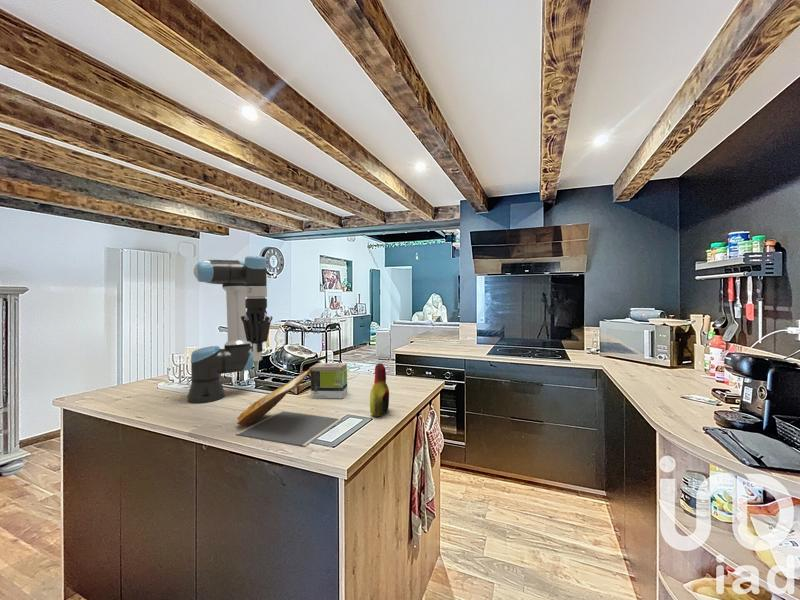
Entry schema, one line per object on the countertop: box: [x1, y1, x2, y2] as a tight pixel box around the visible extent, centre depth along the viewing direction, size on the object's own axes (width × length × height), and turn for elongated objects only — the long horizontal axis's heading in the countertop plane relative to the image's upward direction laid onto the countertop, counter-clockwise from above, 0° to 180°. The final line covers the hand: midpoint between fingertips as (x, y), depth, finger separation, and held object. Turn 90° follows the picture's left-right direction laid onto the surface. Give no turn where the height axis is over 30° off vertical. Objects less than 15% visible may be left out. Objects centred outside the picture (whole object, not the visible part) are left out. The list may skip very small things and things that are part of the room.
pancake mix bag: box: [236, 366, 312, 427], centre depth 131 cm, size 7×19×28 cm
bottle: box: [369, 362, 390, 417], centre depth 141 cm, size 12×6×20 cm, turn 156°
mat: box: [235, 410, 343, 448], centre depth 127 cm, size 28×24×1 cm
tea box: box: [310, 362, 348, 399], centre depth 165 cm, size 15×10×15 cm, turn 84°
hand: (257, 360), depth 131 cm, fingers closed
